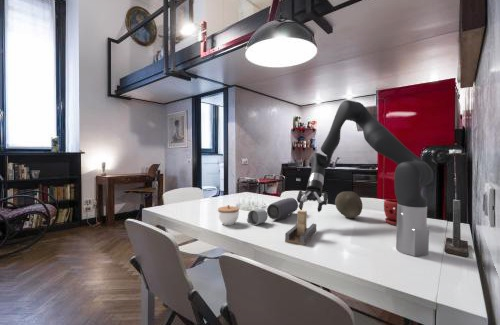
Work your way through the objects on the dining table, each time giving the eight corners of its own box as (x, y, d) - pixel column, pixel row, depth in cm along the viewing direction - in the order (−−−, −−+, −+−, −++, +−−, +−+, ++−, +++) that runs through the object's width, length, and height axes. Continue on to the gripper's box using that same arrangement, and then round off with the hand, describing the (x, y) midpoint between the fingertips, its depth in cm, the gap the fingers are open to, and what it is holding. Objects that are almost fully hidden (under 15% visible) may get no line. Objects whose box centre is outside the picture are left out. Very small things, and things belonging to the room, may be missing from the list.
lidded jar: (229, 227, 119) (229, 208, 119) (213, 223, 126) (213, 205, 125) (243, 222, 128) (243, 204, 127) (227, 219, 134) (227, 202, 134)
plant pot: (417, 228, 120) (418, 203, 119) (388, 226, 122) (389, 202, 122) (406, 221, 132) (407, 199, 132) (380, 219, 135) (380, 198, 135)
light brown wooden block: (299, 232, 109) (299, 210, 109) (306, 233, 108) (306, 210, 108) (297, 234, 106) (297, 211, 106) (304, 235, 105) (304, 212, 104)
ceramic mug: (268, 223, 127) (268, 208, 127) (258, 226, 121) (258, 211, 121) (253, 220, 134) (252, 206, 134) (242, 223, 128) (242, 208, 128)
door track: (299, 228, 118) (299, 221, 118) (316, 231, 114) (316, 224, 114) (285, 241, 100) (285, 233, 100) (304, 245, 96) (304, 236, 96)
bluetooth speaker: (284, 212, 152) (285, 196, 152) (298, 214, 147) (299, 197, 146) (265, 220, 133) (265, 201, 133) (280, 223, 128) (281, 203, 128)
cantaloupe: (357, 215, 145) (358, 189, 145) (365, 221, 131) (366, 193, 131) (333, 214, 147) (333, 189, 147) (337, 220, 133) (338, 192, 133)
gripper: (300, 178, 128) (293, 204, 118) (328, 179, 121) (323, 206, 111) (303, 187, 132) (296, 212, 123) (330, 189, 126) (325, 216, 116)
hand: (309, 209), depth 117 cm, fingers open, 8 cm apart
